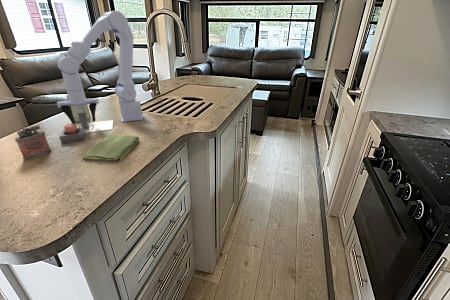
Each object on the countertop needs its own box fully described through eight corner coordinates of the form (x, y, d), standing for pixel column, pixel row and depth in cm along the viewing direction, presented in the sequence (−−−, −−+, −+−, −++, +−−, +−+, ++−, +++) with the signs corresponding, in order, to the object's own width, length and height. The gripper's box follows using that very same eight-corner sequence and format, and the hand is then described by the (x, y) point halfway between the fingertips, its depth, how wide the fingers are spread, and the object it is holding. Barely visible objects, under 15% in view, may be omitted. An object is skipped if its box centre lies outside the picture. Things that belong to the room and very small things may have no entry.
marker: (91, 127, 102) (85, 106, 98) (86, 129, 100) (80, 108, 96) (85, 126, 103) (79, 106, 99) (80, 129, 100) (74, 108, 96)
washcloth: (81, 162, 77) (78, 153, 75) (110, 139, 93) (108, 132, 91) (120, 164, 76) (117, 155, 74) (142, 141, 91) (141, 133, 90)
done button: (78, 129, 93) (76, 123, 92) (76, 132, 90) (75, 126, 89) (66, 130, 92) (65, 124, 91) (64, 134, 89) (62, 128, 87)
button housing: (85, 134, 96) (83, 127, 95) (83, 141, 90) (80, 133, 89) (65, 136, 94) (63, 129, 93) (61, 143, 88) (59, 136, 87)
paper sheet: (113, 120, 111) (113, 119, 111) (112, 129, 101) (112, 128, 101) (71, 125, 105) (71, 124, 105) (66, 135, 95) (66, 134, 95)
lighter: (26, 161, 76) (14, 132, 72) (21, 159, 78) (9, 130, 73) (53, 151, 82) (43, 124, 78) (48, 149, 84) (38, 122, 80)
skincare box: (82, 122, 109) (74, 95, 104) (73, 121, 110) (65, 95, 104) (91, 117, 115) (84, 92, 109) (83, 117, 115) (76, 91, 110)
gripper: (96, 86, 100) (103, 117, 106) (56, 88, 95) (66, 121, 101) (94, 89, 94) (102, 122, 100) (51, 92, 89) (62, 126, 95)
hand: (84, 122), depth 100 cm, fingers open, 7 cm apart
